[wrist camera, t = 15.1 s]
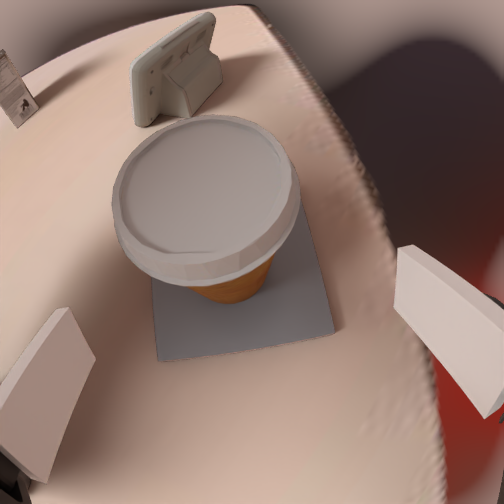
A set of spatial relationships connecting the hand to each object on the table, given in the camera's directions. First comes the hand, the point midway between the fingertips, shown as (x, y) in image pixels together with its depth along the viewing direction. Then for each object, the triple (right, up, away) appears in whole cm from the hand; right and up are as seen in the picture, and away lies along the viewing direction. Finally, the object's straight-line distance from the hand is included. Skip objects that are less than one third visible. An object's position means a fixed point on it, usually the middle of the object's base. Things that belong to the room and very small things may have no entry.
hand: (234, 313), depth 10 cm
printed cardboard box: (-46, +31, +30) cm, 63 cm away
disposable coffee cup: (-1, +1, +14) cm, 14 cm away
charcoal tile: (-1, +1, +14) cm, 14 cm away
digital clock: (-9, +24, +25) cm, 35 cm away
